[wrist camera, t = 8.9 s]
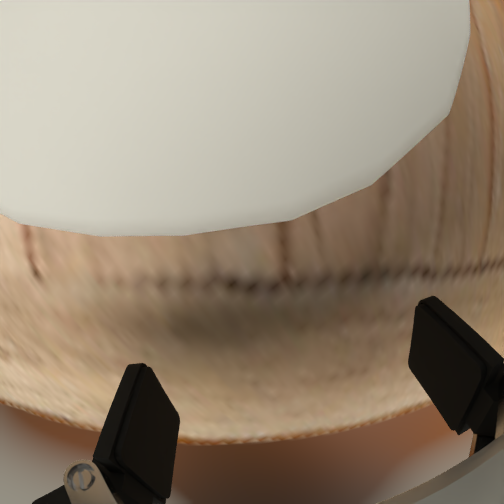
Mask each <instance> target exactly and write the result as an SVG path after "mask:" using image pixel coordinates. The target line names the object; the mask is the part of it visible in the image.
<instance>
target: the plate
mask: <svg viewBox="0 0 504 504" xmlns="http://www.w3.org/2000/svg"><path fill="white" fill-rule="evenodd" d="M469 38H470V5H469V0H0V214H2V215H4V216H6V217H8V218H10V219H11V220H13V221H15V222H17V223H19V224H25V225H31V226H37V227H44V228H50V229H56V230H62V231H69V232H75V233H81V234H88V235H94V236H185V235H191V234H198V233H204V232H211V231H218V230H225V229H232V228H239V227H246V226H253V225H261V224H268V223H276V222H283V221H291V220H294V219H296V218H298V217H300V216H303V215H305V214H307V213H309V212H311V211H314V210H316V209H318V208H321V207H323V206H325V205H327V204H330V203H332V202H334V201H336V200H339V199H341V198H343V197H345V196H348V195H350V194H352V193H355V192H357V191H359V190H361V189H364V188H366V187H368V186H371V185H372V184H373V183H374V182H376V181H377V180H378V179H379V178H380V177H381V176H382V175H383V174H385V173H386V172H387V171H388V170H389V169H390V168H391V167H392V166H393V165H395V164H396V163H397V162H398V161H399V160H400V159H401V158H402V157H403V156H405V155H406V154H407V153H408V152H409V151H410V150H411V149H412V148H413V147H414V146H415V145H417V144H418V143H419V142H420V141H421V140H422V139H423V138H424V137H425V136H426V135H427V134H428V133H430V132H431V131H432V130H433V129H434V128H435V127H436V126H437V125H438V124H439V123H440V122H441V121H442V120H443V119H444V118H446V117H447V116H448V115H449V113H450V110H451V107H452V103H453V100H454V97H455V94H456V90H457V87H458V83H459V80H460V76H461V73H462V69H463V65H464V61H465V56H466V52H467V48H468V43H469Z"/></svg>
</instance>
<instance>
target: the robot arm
mask: <svg viewBox="0 0 504 504" xmlns="http://www.w3.org/2000/svg"><path fill="white" fill-rule="evenodd" d="M503 362H504V358H503V357H502V356H501V355H500V354H499V353H498V352H496V351H495V350H494V349H493V348H492V347H491V346H490V345H489V344H488V343H487V342H486V341H485V340H484V339H483V338H482V337H481V336H480V335H479V334H478V333H477V332H475V331H474V330H473V329H472V328H471V327H470V326H469V325H468V324H467V323H466V322H464V321H463V320H462V319H461V318H460V317H459V316H458V315H457V314H455V313H454V312H453V311H452V310H451V309H450V308H449V307H447V306H446V305H445V304H444V303H443V302H442V301H440V300H439V299H438V298H437V297H435V296H431V297H428V298H425V299H423V300H420V301H419V303H418V306H416V308H415V316H414V325H413V333H412V340H411V347H410V353H409V359H408V364H409V368H410V370H411V371H412V373H413V374H414V375H415V377H416V378H417V380H418V381H419V383H420V384H421V386H422V387H423V388H424V390H425V391H426V393H427V394H428V396H429V397H430V399H431V400H432V402H433V403H434V405H435V406H436V408H437V409H438V411H439V412H440V414H441V415H442V417H443V418H444V420H445V421H446V423H447V424H448V426H449V427H450V429H451V430H455V431H456V432H457V434H458V435H460V434H462V433H463V432H465V431H467V430H468V429H470V428H471V430H472V431H473V438H472V443H471V448H470V453H469V457H468V458H467V459H466V460H464V461H462V462H461V463H459V464H458V465H456V466H454V467H453V468H451V469H449V470H447V471H446V472H444V473H442V474H441V475H438V476H436V477H435V478H433V479H431V480H429V481H427V482H425V483H423V484H421V485H419V486H417V487H415V488H413V489H410V490H408V491H406V492H404V493H401V494H399V495H397V496H394V497H392V498H389V499H387V500H384V501H382V502H379V503H376V504H504V363H503ZM179 425H180V418H179V414H178V413H177V411H176V409H175V408H174V406H173V405H172V403H171V401H170V400H169V398H168V396H167V395H166V393H165V391H164V389H163V388H162V386H161V384H160V383H159V381H158V379H157V377H156V375H155V374H154V372H153V370H152V368H151V367H147V366H146V364H144V363H139V364H129V365H128V366H127V368H126V370H125V373H124V375H123V377H122V380H121V382H120V385H119V387H118V390H117V392H116V395H115V397H114V400H113V402H112V405H111V407H110V410H109V413H108V415H107V418H106V421H105V423H104V426H103V429H102V432H101V434H100V437H99V440H98V443H97V446H96V449H95V452H94V454H93V460H92V462H91V461H89V460H78V461H75V462H73V463H72V464H70V465H69V467H68V468H67V469H66V471H65V473H64V478H63V481H64V485H63V486H61V487H59V488H58V489H56V490H54V491H52V492H50V493H48V494H46V495H45V496H43V497H41V498H39V499H37V500H35V501H34V502H33V503H32V504H165V503H166V498H169V497H170V493H171V484H172V477H173V468H174V460H175V453H176V446H177V439H178V432H179Z"/></svg>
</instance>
